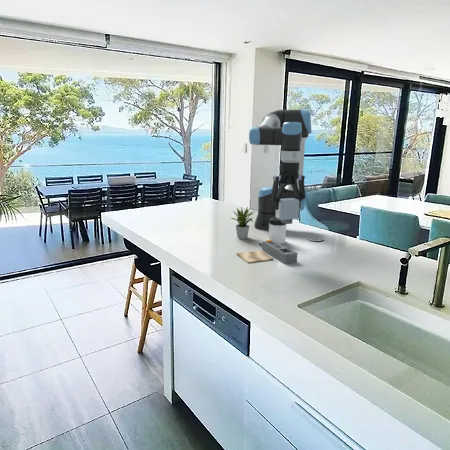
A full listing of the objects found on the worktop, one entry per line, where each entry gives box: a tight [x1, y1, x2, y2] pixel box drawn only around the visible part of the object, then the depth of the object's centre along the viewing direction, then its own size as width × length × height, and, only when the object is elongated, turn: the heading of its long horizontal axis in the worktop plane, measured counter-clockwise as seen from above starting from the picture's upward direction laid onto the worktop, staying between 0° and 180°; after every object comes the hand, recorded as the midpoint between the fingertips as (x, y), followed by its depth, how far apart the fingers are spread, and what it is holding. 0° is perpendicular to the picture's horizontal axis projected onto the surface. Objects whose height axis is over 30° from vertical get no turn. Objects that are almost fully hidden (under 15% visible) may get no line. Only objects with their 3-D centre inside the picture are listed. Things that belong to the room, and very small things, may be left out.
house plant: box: [230, 206, 256, 240], centre depth 191 cm, size 14×14×16 cm
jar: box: [268, 217, 287, 245], centre depth 185 cm, size 9×8×12 cm
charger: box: [276, 198, 299, 225], centre depth 157 cm, size 4×8×10 cm, turn 112°
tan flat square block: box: [235, 250, 274, 264], centre depth 164 cm, size 12×12×1 cm
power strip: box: [258, 239, 298, 265], centre depth 169 cm, size 28×6×5 cm, turn 22°
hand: (286, 216), depth 157 cm, fingers closed on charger, 8 cm apart
